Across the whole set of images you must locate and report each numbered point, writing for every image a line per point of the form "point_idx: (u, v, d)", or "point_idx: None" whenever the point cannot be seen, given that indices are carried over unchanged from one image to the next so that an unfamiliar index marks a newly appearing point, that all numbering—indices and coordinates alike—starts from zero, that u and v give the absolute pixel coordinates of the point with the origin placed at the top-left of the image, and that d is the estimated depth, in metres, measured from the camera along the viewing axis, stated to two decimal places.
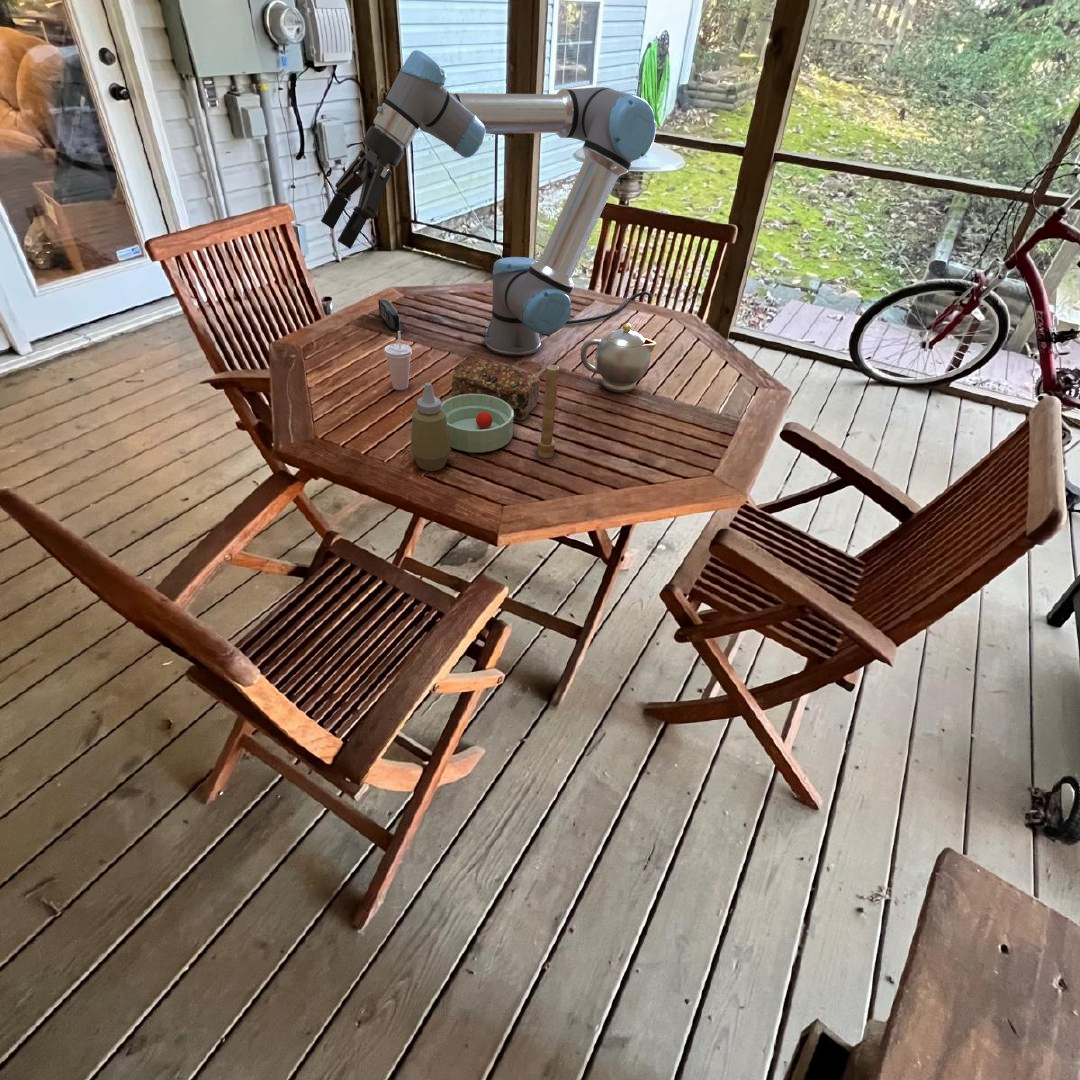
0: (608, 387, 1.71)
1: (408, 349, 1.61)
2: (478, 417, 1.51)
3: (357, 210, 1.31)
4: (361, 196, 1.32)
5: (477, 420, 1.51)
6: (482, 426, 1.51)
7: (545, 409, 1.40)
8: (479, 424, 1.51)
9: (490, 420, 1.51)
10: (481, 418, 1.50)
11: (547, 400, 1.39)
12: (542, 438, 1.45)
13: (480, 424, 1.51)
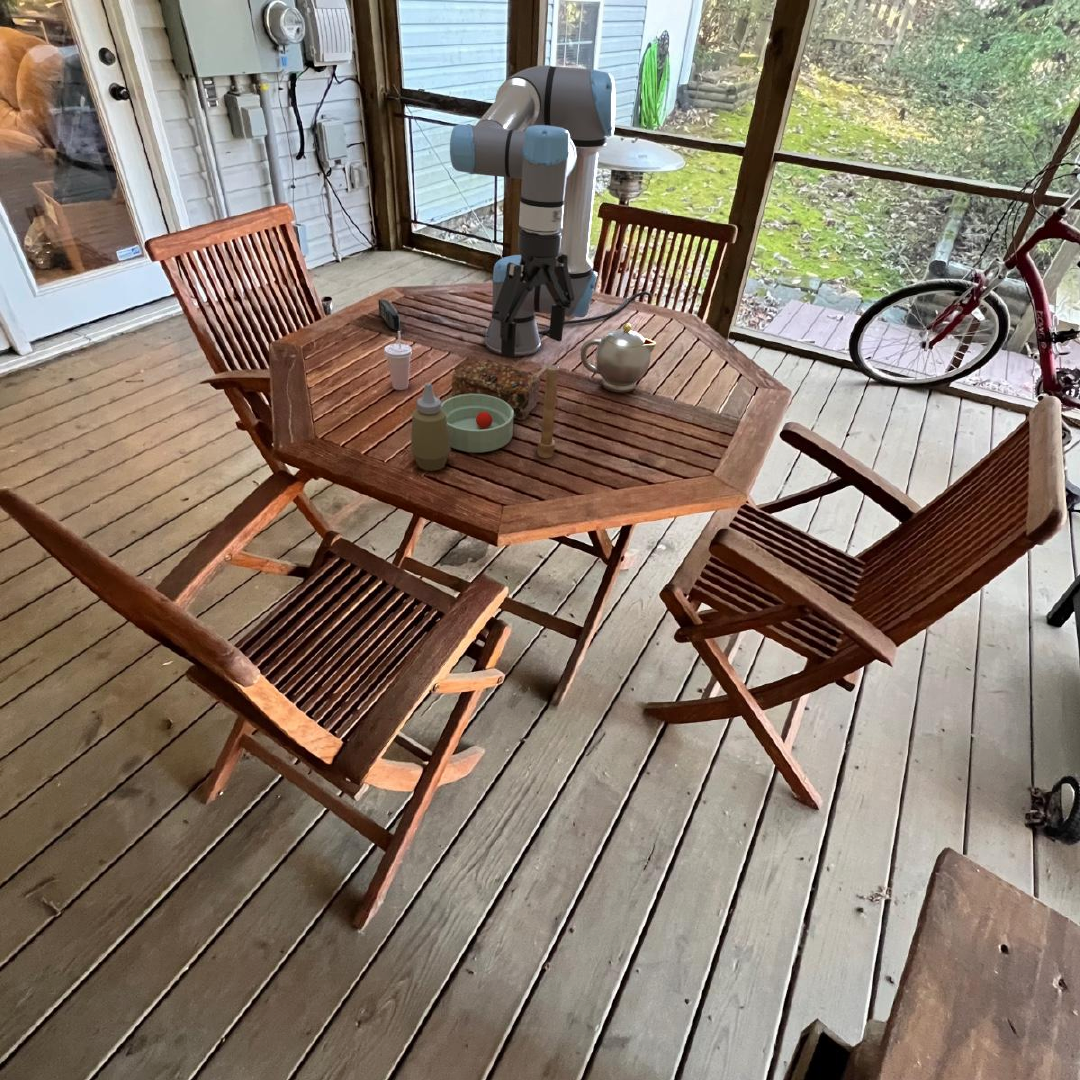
0: (608, 387, 1.71)
1: (408, 349, 1.61)
2: (478, 417, 1.51)
3: None
4: (561, 294, 1.30)
5: (477, 420, 1.51)
6: (482, 426, 1.51)
7: (545, 409, 1.40)
8: (479, 424, 1.51)
9: (490, 420, 1.51)
10: (481, 418, 1.50)
11: (547, 400, 1.39)
12: (542, 438, 1.45)
13: (480, 424, 1.51)
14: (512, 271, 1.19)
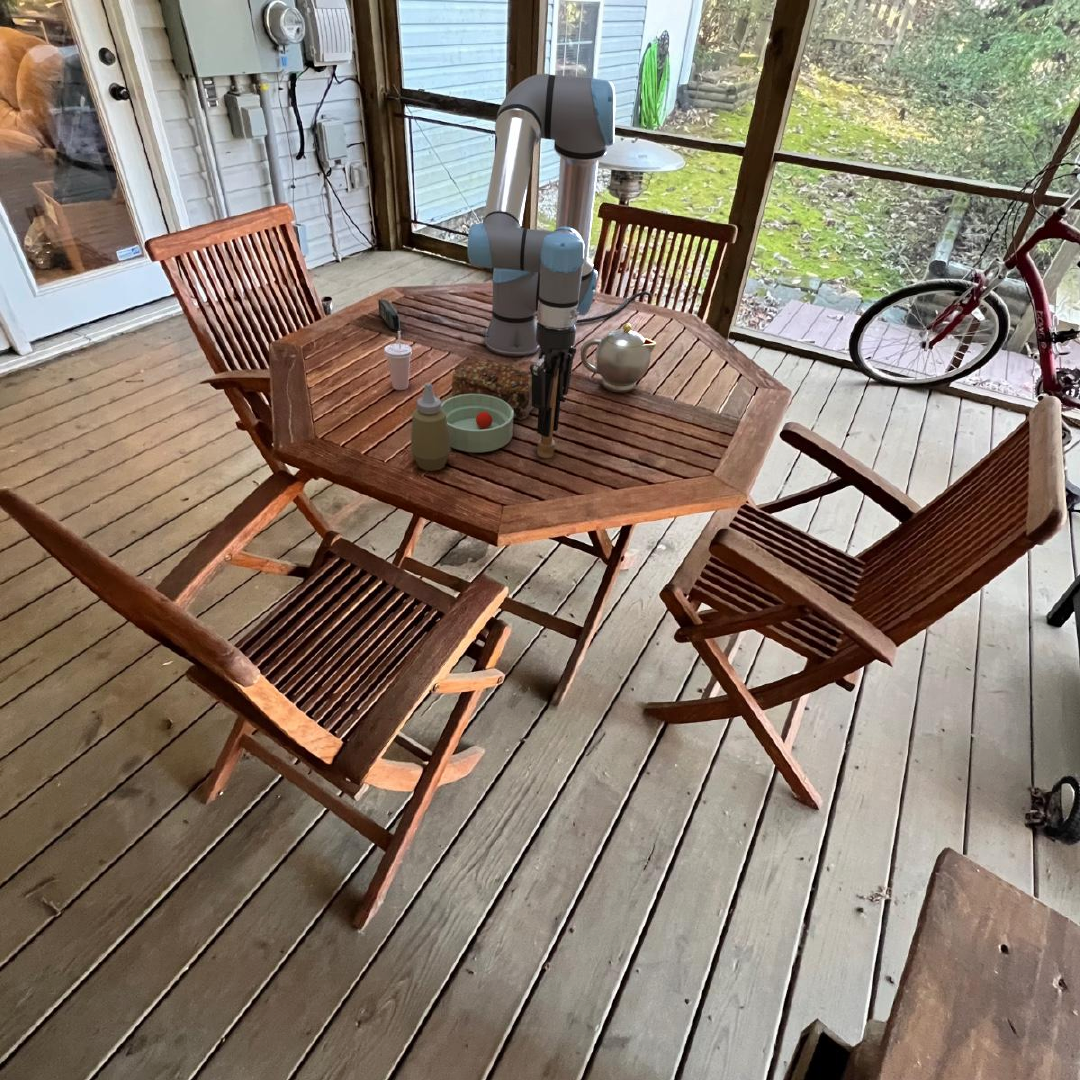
0: (608, 387, 1.71)
1: (408, 349, 1.61)
2: (478, 417, 1.51)
3: None
4: (561, 386, 1.39)
5: (477, 420, 1.51)
6: (482, 426, 1.51)
7: None
8: (479, 424, 1.51)
9: (490, 420, 1.51)
10: (481, 418, 1.50)
11: None
12: (542, 438, 1.45)
13: (480, 424, 1.51)
14: (536, 373, 1.30)
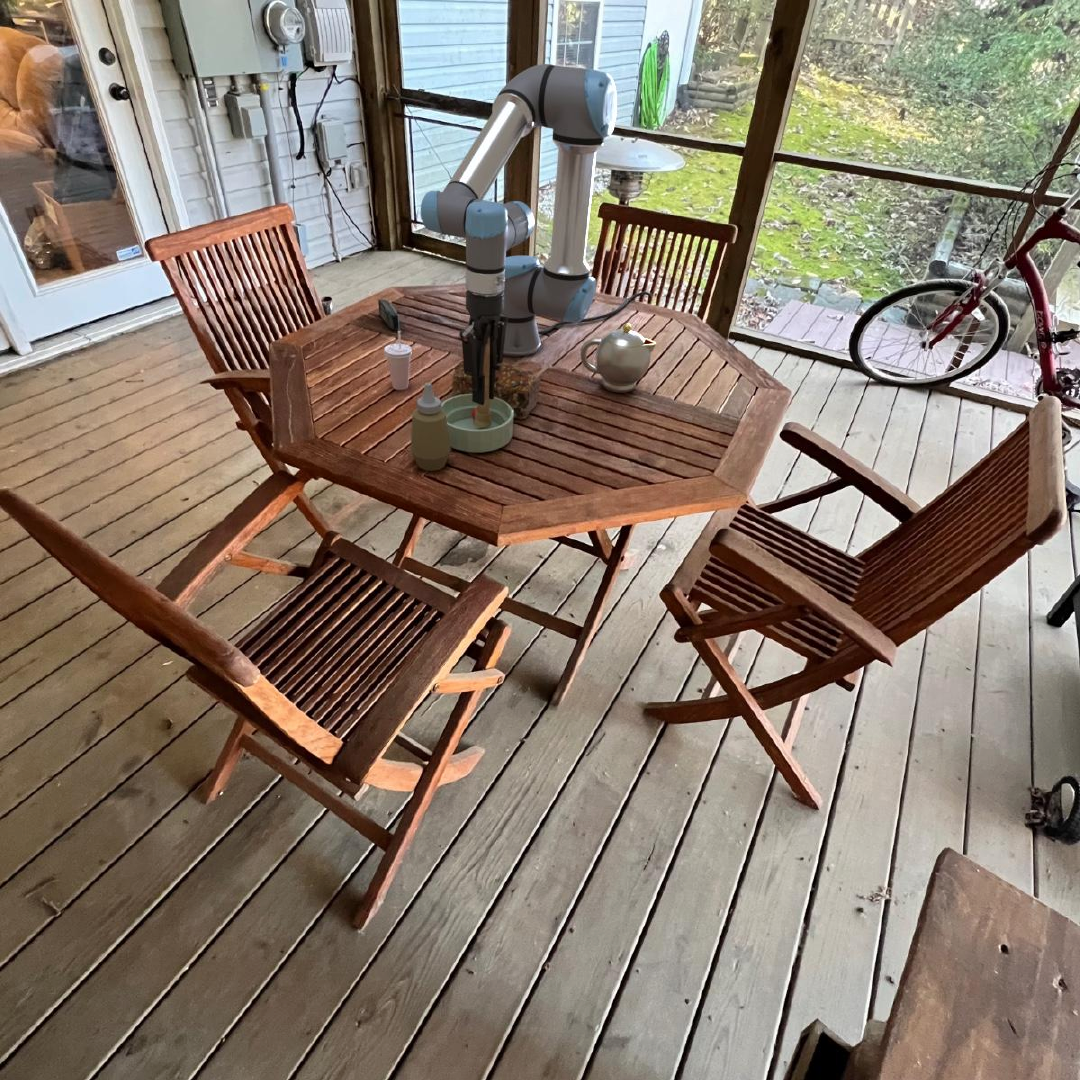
0: (608, 387, 1.71)
1: (408, 349, 1.61)
2: None
3: None
4: (495, 354, 1.43)
5: None
6: None
7: None
8: (474, 412, 1.52)
9: None
10: (476, 407, 1.53)
11: None
12: (478, 407, 1.48)
13: None
14: (466, 339, 1.34)
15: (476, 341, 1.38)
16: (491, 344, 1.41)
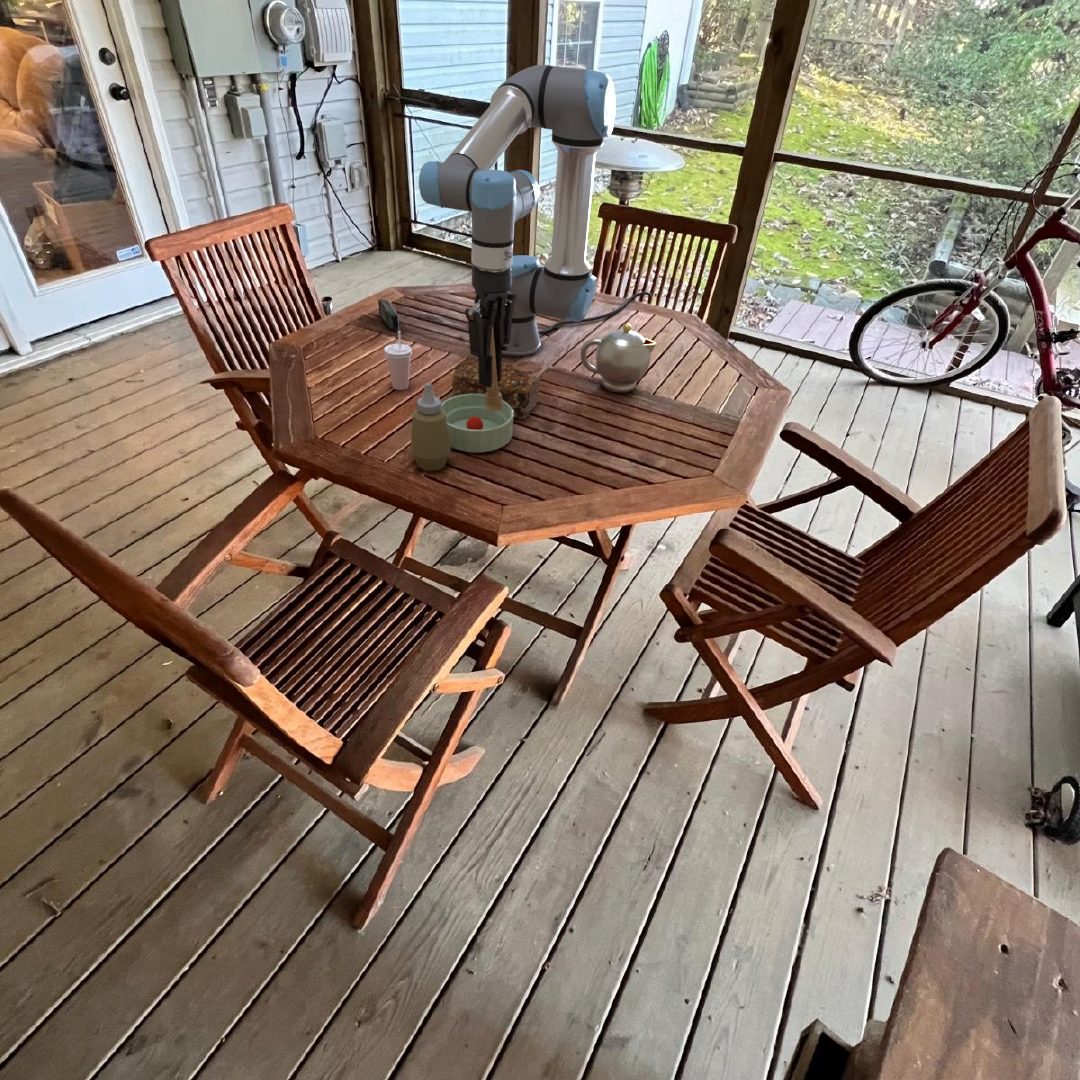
0: (608, 387, 1.71)
1: (408, 349, 1.61)
2: (470, 427, 1.49)
3: None
4: (502, 334, 1.36)
5: (468, 426, 1.49)
6: None
7: None
8: (467, 428, 1.50)
9: None
10: None
11: None
12: None
13: None
14: (472, 318, 1.27)
15: (483, 320, 1.31)
16: (498, 323, 1.34)
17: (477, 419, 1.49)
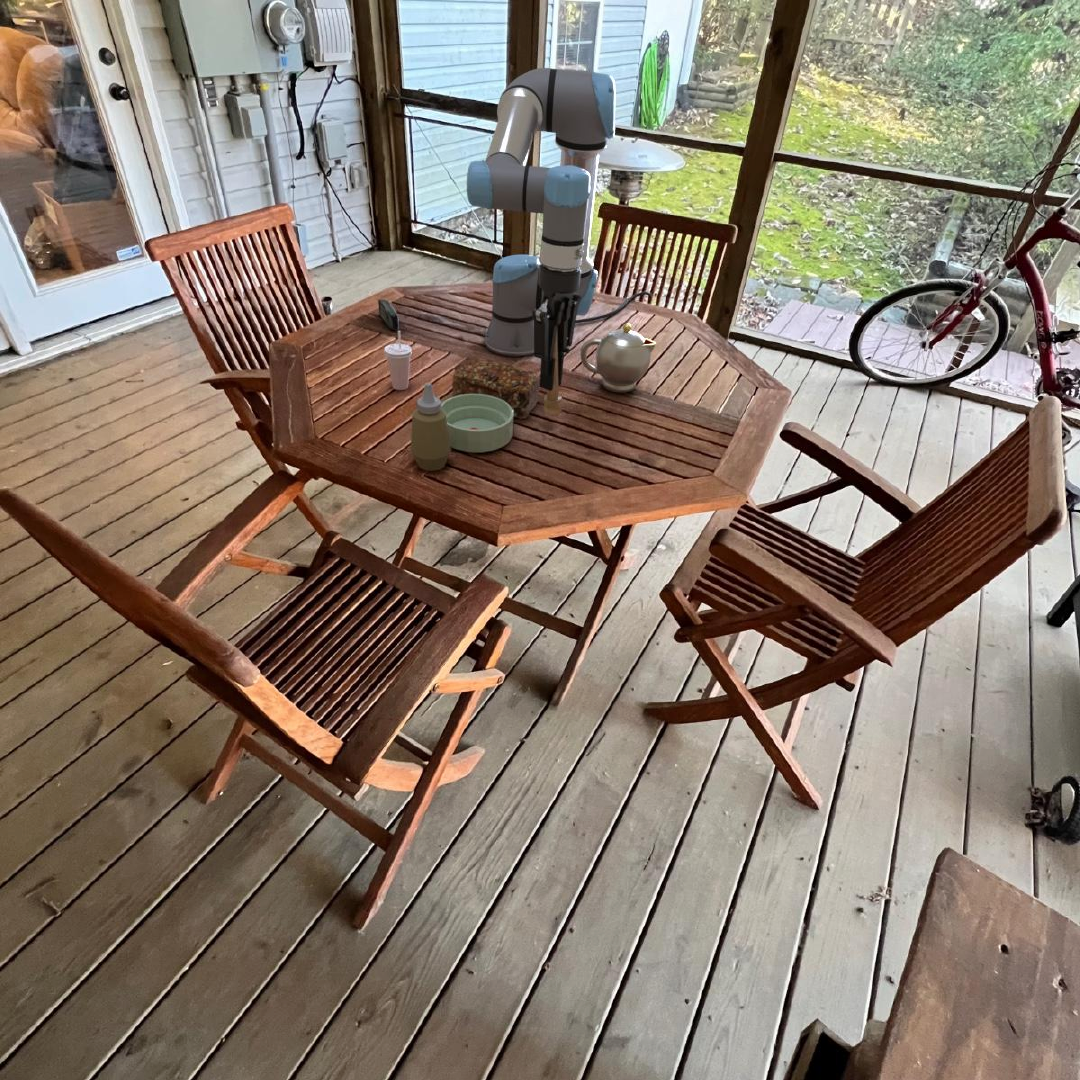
0: (608, 387, 1.71)
1: (408, 349, 1.61)
2: None
3: None
4: (565, 335, 1.32)
5: None
6: None
7: None
8: None
9: None
10: None
11: None
12: (547, 393, 1.38)
13: None
14: (539, 318, 1.23)
15: (548, 321, 1.27)
16: (562, 325, 1.30)
17: None
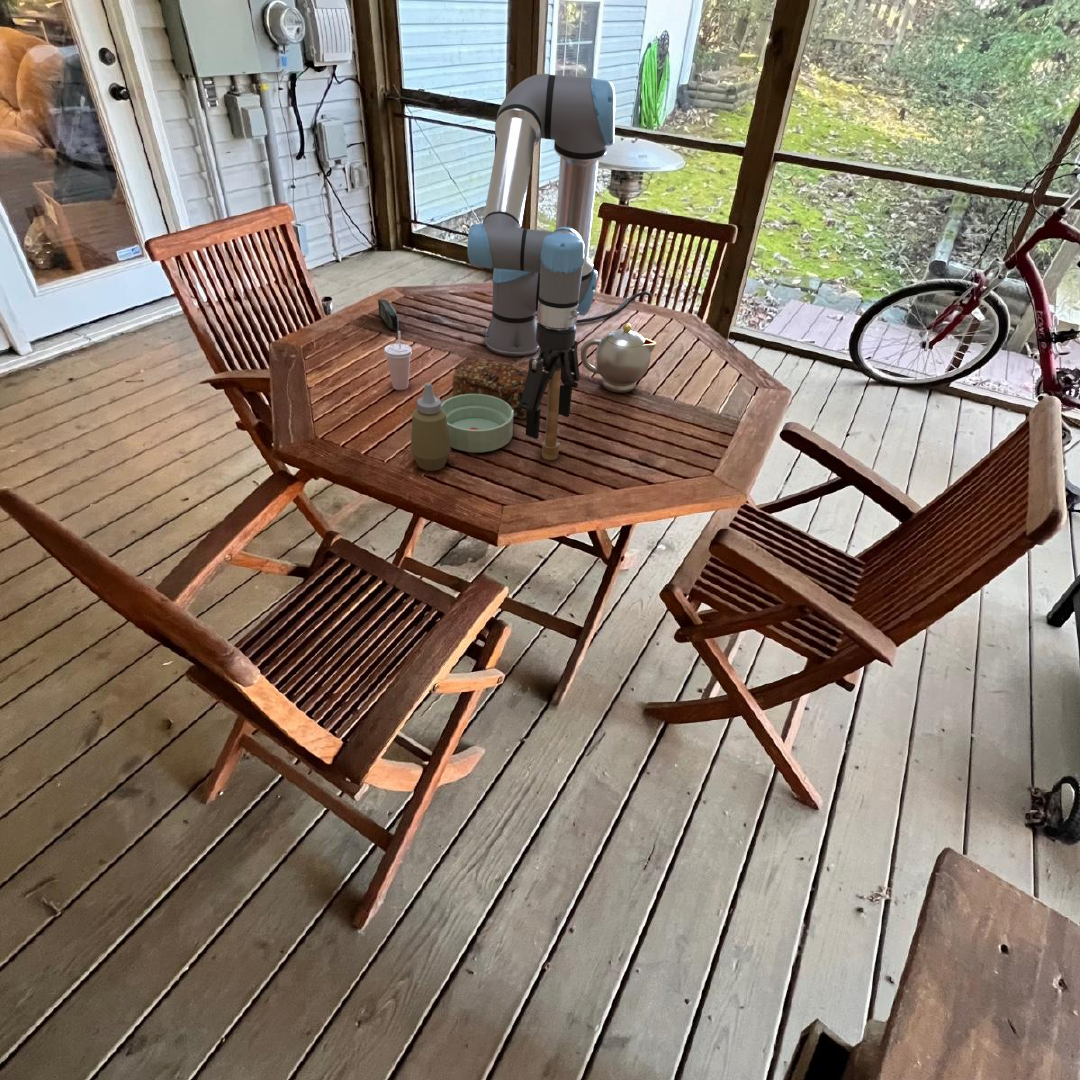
0: (608, 387, 1.71)
1: (408, 349, 1.61)
2: None
3: None
4: (570, 376, 1.40)
5: None
6: None
7: (547, 410, 1.40)
8: None
9: None
10: None
11: (548, 401, 1.38)
12: (545, 439, 1.44)
13: None
14: (535, 367, 1.29)
15: (541, 373, 1.33)
16: (564, 371, 1.38)
17: None
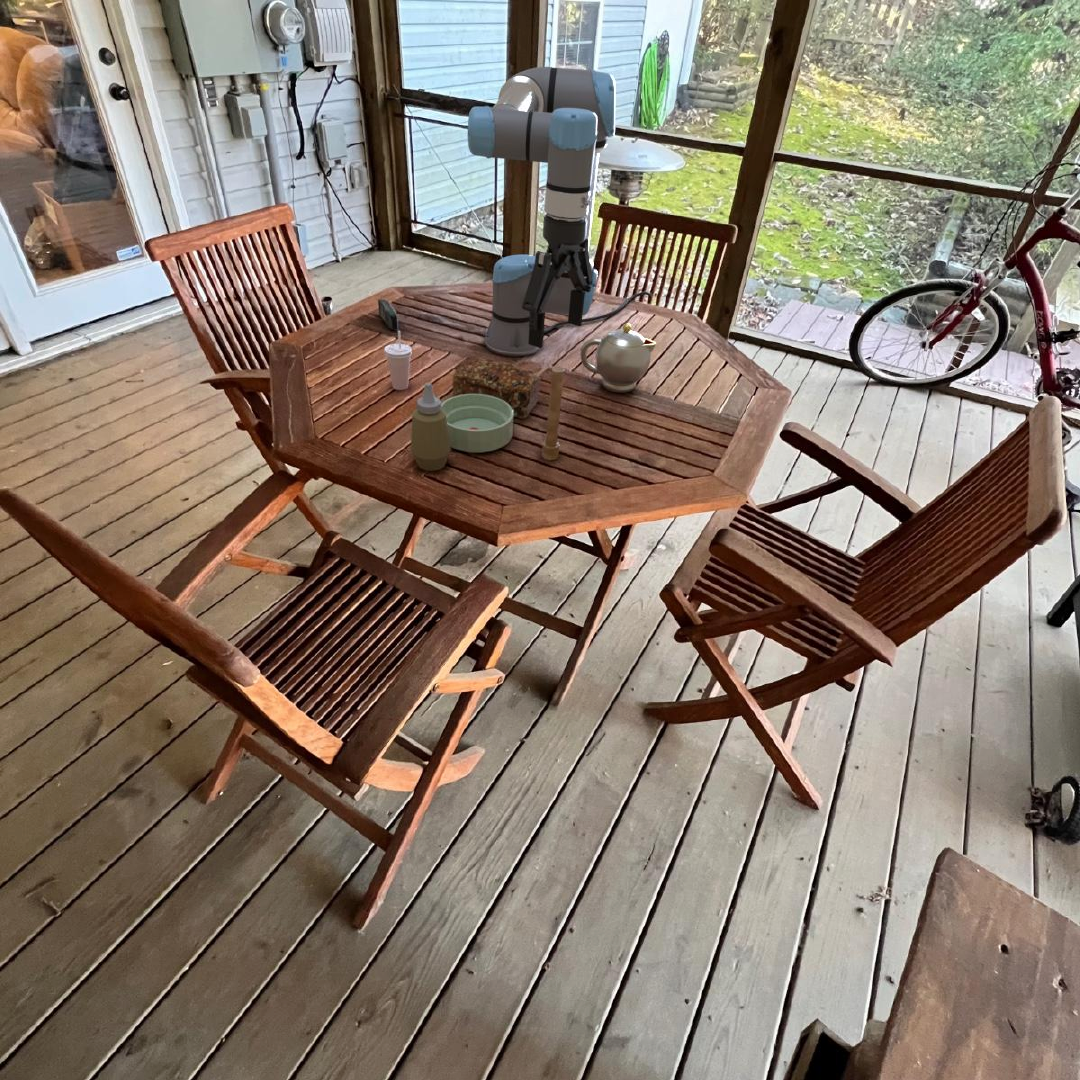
0: (608, 387, 1.71)
1: (408, 349, 1.61)
2: None
3: None
4: (582, 278, 1.28)
5: None
6: None
7: (549, 410, 1.40)
8: None
9: None
10: None
11: (550, 402, 1.38)
12: (546, 439, 1.44)
13: None
14: (542, 260, 1.16)
15: (548, 271, 1.20)
16: (575, 273, 1.26)
17: None
